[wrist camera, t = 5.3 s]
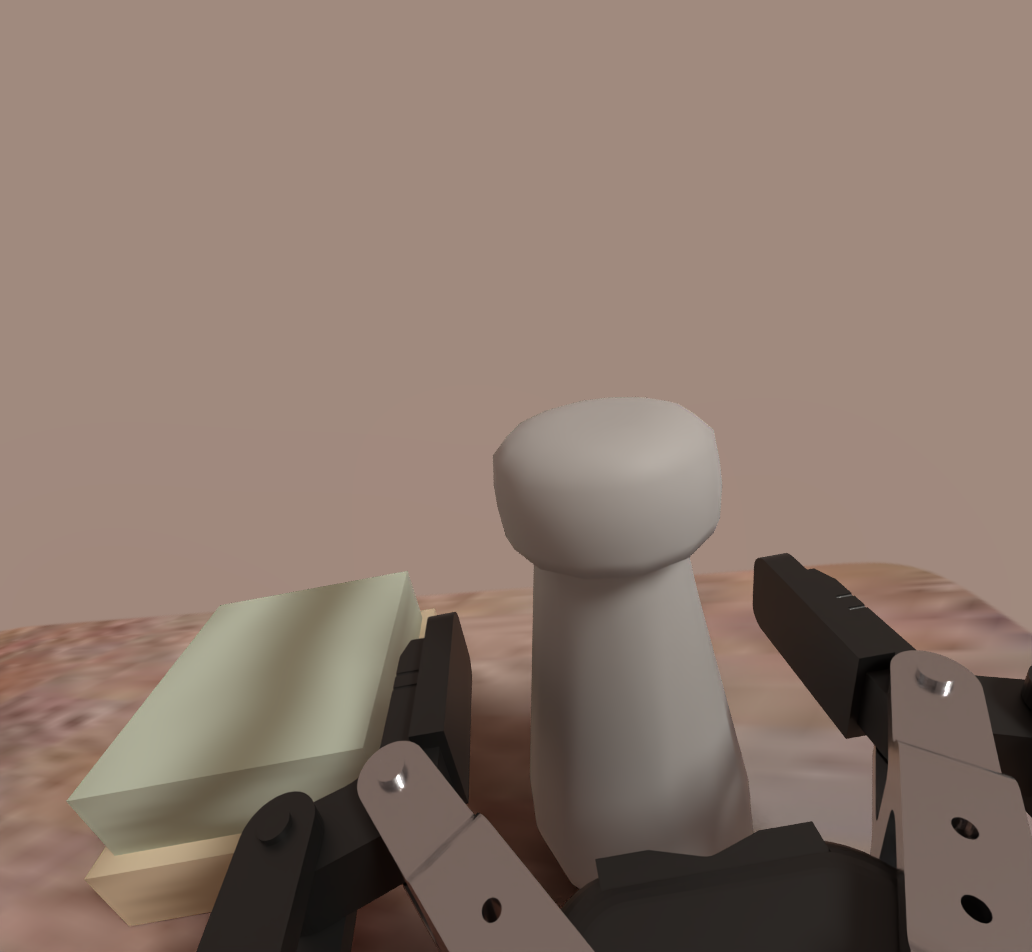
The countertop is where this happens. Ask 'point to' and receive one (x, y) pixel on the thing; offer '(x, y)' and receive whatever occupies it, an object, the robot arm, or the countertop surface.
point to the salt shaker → (622, 632)
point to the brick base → (243, 737)
